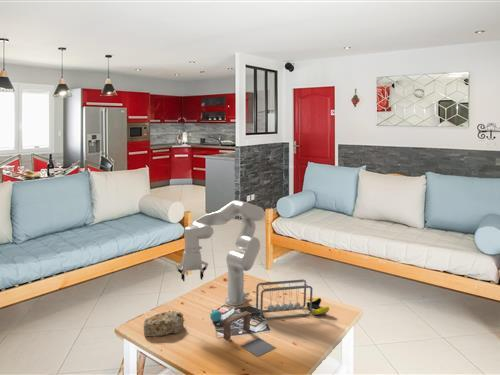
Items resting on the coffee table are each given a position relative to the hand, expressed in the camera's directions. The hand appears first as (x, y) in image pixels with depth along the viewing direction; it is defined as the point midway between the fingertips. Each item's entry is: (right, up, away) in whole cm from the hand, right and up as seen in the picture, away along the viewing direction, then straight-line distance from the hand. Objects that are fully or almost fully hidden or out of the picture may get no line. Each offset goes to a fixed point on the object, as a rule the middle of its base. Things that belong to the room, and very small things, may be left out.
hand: (192, 279), depth 223 cm
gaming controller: (+70, -22, +15) cm, 75 cm away
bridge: (+25, -25, -12) cm, 37 cm away
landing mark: (+35, -27, -24) cm, 51 cm away
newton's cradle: (+50, -22, +11) cm, 56 cm away
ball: (+13, -20, +1) cm, 24 cm away
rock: (-14, -24, -8) cm, 29 cm away
